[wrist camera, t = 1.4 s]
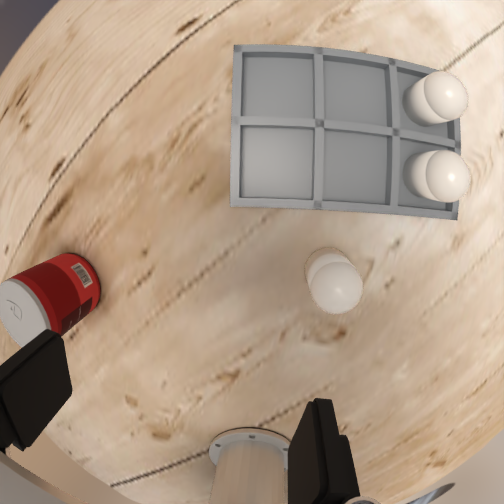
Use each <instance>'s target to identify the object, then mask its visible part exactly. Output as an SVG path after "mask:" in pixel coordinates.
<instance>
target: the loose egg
mask: <svg viewBox="0 0 504 504" xmlns="http://www.w3.org/2000/svg"><path fill="white" fill-rule="evenodd" d="M305 277H306V280H307V283H308V287H309V290H310V293H311V297H312V299H313V301H314V303H315V304H316V305H317V306H318V307H319V308H320V309H321V310H322V311H324V312H326V313H329V314H343V313H346V312H348V311H350V310H352V309H353V308H354V307H355V306H356V305H357V304H358V302H359V301H360V299H361V297H362V293H363V281H362V278H361V275H360V273H359V272H358V270H357V269H356V268H355V267H354V266H353V264H352V263H351V262H350V261H349V260H348V259H347V257H346V256H345V255H344V254H343V253H342V252H341V251H339V250H337V249H335V248H322V249H319V250H317V251H315V252H314V253H313V254H312V255H311V256H310V257H309V258H308V260H307V262H306V265H305Z"/></svg>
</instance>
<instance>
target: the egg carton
mask: <svg viewBox="0 0 504 504" xmlns="http://www.w3.org/2000/svg"><path fill="white" fill-rule="evenodd" d="M436 71H439V70H435V69H432V68H429V67H425V66H421V65H418V64H414V63H410V62H406V61H401V60H397V59H392V58H388V57H383V56H378V55H372V54H366V53H360V52H354V51H347V50H339V49H331V48H321V47H310V46H295V45H234V55H233V83H232V117H231V164H230V207H267V208H295V209H317V210H336V211H353V212H368V213H382V214H395V215H407V216H419V217H430V218H440V219H450V220H457V217H458V206H459V200H458V201H455V202H451V203H447V202H441V201H436V200H431V199H426V198H420V197H417V196H415V195H413V194H411V193H410V192H409V190H408V189H407V188H406V186H405V184H404V181H403V173H402V172H403V166H404V163H405V161H406V160H407V159H408V157H410V156H411V155H412V154H415V153H420V152H428V151H437V150H450V151H453V152H455V153H457V154H458V155H460V156H461V134H460V117H459V118H458V119H455V120H451V121H447V122H443V123H440V124H436V125H432V126H428V127H423V126H419V125H417V124H415V123H414V122H412V121H411V120H410V119H409V118H408V116H407V115H406V113H405V111H404V109H403V105H402V96H403V93H404V91H405V89H406V88H408V87H409V86H411V85H412V84H414V83H416V82H417V81H419V80H421V79H422V78H424V77H426V76H427V75H429V74H431V73H433V72H436Z"/></svg>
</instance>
